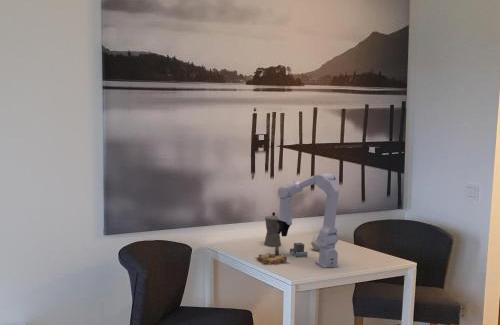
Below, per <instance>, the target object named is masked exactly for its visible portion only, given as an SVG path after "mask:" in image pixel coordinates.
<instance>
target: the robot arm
mask: <svg viewBox="0 0 500 325" xmlns="http://www.w3.org/2000/svg"><path fill="white" fill-rule="evenodd" d="M312 185H314V186H315V185H316V186H317V187H318V188H319V189H321V190H322V191H323V192H324V193H325V194H326V196H325V197H326V198H325V199H326V200H325V207H324V208H325V209H324V215H323V224H322V227H321V228H320V230H319V232H318V234H317V235H318V237H317V242H318V244H319V247H320V251H318V252H319V254H318V255H319V256H318V257H319V258H318V260H317V261H315V264H317V265H318V266H321V267H323V268H324V269H325V268H339V267H340V265H339V264H338V256H339V254H338V251H337V250H336V244H337V243H338V241H339V236H338V230H337V228H336V219H337V210H338V203H339V195H340V194H339V193H340V190H339V186H338V178H337V176H336V175H335V174H334V173H333V172H326V173H318V174H315V175H312V176H310V177H307V178H306V179H304V180H302V181H300V180H293V181H292V183H287V184H286V185H285V186H280V187H279V188H278V189H277V195H278V197H279V211H278V213H279V214H278V215H277V216H278V220H281V222H278V224H279V226H280V229H281V233H280V234H281V237H287V236H288V232H289V229H290V227H291V225H292V226H293V217H291V215H292V214H291V212H292V211H291V210H292V209H291V208H292V198H293V196H294V195H296V194H299V193H301V192H303V190H304V188H307V187H310V186H312Z"/></svg>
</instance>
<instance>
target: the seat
mask: <svg viewBox="0 0 500 325" xmlns="http://www.w3.org/2000/svg"><path fill="white" fill-rule="evenodd" d="M289 254H291V255H292V257H293V256H294V257H295V258H307V257H308V255H309V254H308V252H307V251H304V252H296V254H295V253H294V247H292V248H289Z"/></svg>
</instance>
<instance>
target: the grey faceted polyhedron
mask: <svg viewBox="0 0 500 325" xmlns="http://www.w3.org/2000/svg"><path fill="white" fill-rule="evenodd" d="M318 235H319V234H317V235H316V234H315V235H313V238H312V240H311V243H310V245H311V247H312V248H313V251H315V252H316V251H318V252H320V247H319V244H318V242H317V237H318Z"/></svg>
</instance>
